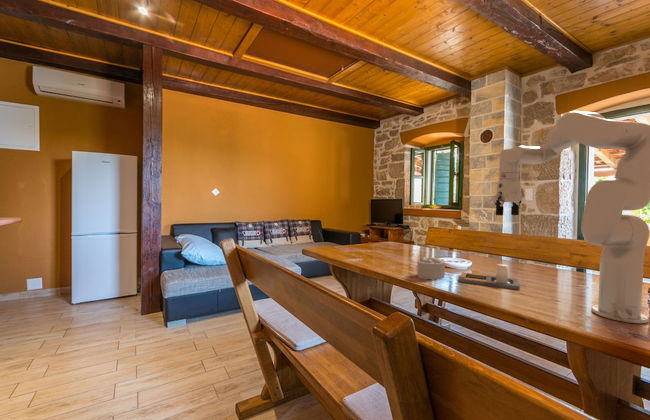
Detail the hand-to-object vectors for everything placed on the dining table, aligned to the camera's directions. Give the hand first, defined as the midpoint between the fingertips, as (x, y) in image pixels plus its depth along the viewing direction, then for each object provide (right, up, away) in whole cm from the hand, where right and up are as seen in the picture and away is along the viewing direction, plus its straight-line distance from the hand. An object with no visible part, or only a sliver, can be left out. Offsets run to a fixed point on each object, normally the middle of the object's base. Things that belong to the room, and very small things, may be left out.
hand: (507, 215), depth 135 cm
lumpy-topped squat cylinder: (-34, -29, +4) cm, 45 cm away
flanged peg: (-7, -29, -7) cm, 31 cm away
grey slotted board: (-11, -29, -5) cm, 32 cm away
